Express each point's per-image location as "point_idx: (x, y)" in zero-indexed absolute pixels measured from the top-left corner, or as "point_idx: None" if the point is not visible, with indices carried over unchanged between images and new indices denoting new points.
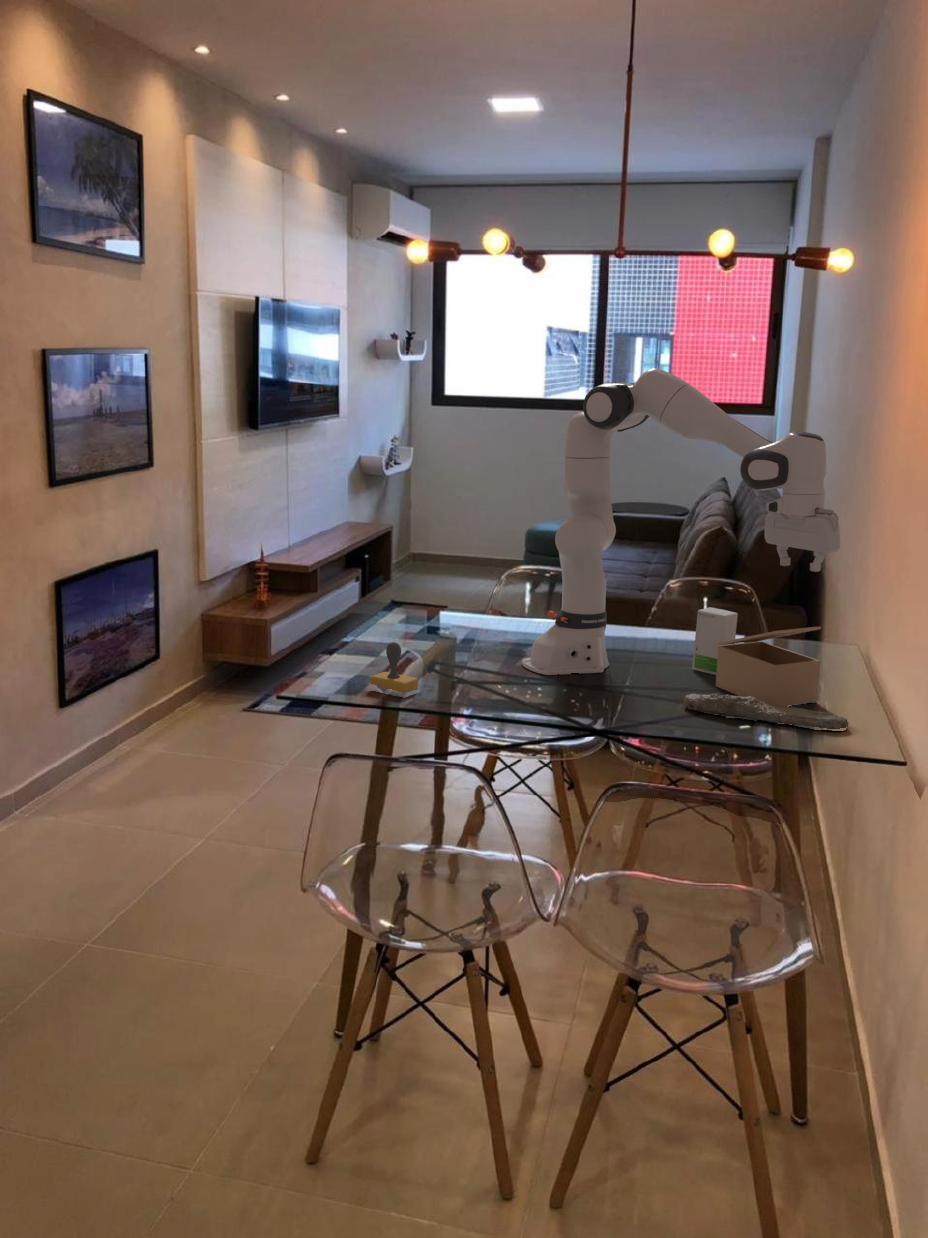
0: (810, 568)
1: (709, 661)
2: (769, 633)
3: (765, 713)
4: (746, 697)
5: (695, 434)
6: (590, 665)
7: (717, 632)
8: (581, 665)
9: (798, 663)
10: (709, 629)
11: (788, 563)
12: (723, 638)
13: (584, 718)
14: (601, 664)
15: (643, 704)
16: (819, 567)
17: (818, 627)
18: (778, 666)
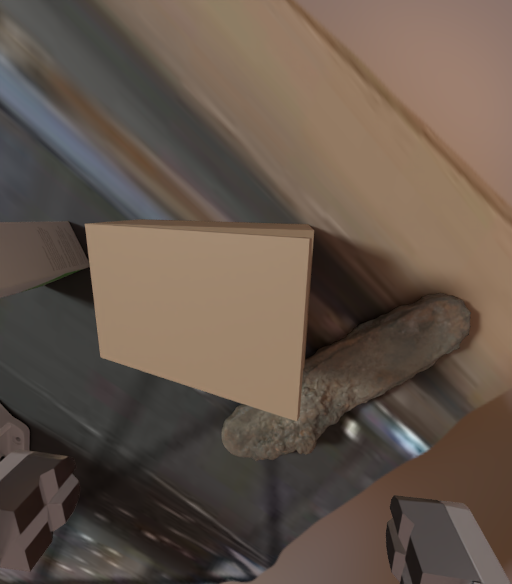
0: (398, 568)
1: (54, 279)
2: (271, 410)
3: (359, 404)
4: (305, 405)
5: None
6: (7, 441)
7: (9, 290)
8: (7, 455)
9: (308, 302)
10: None
11: (62, 482)
12: (32, 280)
13: (223, 565)
14: (8, 428)
15: (197, 475)
16: (478, 545)
17: (309, 249)
18: (304, 359)
